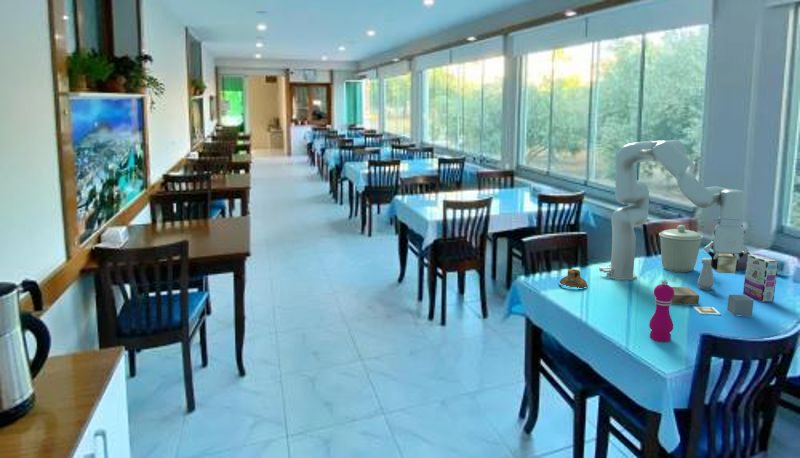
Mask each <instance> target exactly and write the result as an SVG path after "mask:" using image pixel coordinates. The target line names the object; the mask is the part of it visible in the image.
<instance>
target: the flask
mask: <svg viewBox="0 0 800 458" xmlns="http://www.w3.org/2000/svg"><path fill="white" fill-rule="evenodd" d="M741 227H743V225H742V224H741ZM743 228H744V227H743ZM745 233H746V231H745V230H744V234H745ZM744 246H745V244H744ZM745 247H746V246H745ZM720 254H731V255H733V254H732V253H720ZM748 255H752V253H750V252H749V251H748V252H747V253H745V254H744V255H743V256H742V257H741V258H740V259H739V260H738V264H737V267H736V270H735V271H745V270H746V265H747V256H748Z"/></svg>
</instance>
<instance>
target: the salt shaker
mask: <svg viewBox="0 0 800 458" xmlns="http://www.w3.org/2000/svg"><path fill="white" fill-rule="evenodd" d="M711 260H712V257H703V258H702V259H701V263H702V267H701V271H700V274H699V277H698V280H697V285H698V287H699V289H700V290H703V291H710V290H711V289H712V288H713V286H714V285H715V284H714V277H713V276H714V275H713V274H714V273H713V269H712V266H711Z"/></svg>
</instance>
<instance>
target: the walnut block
mask: <svg viewBox="0 0 800 458" xmlns="http://www.w3.org/2000/svg"><path fill="white" fill-rule="evenodd" d="M671 287H672V288H673V290H674V296H673V298H671V300H672V302H671V303H672V304H671V305H695V306H696V305H699V304H700V303H699V301H700V294H698V293H697V292H696V291H694V290H693V289H692V288H690V287H689V286H686V287H685V286H671Z"/></svg>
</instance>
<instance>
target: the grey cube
mask: <svg viewBox="0 0 800 458" xmlns="http://www.w3.org/2000/svg"><path fill="white" fill-rule="evenodd" d="M727 297H728V298H727V299H728V300H727V306H726V307H727V308H726V309H727V311H728V312H729V313H731V315H733V316H736V315H741V316H740V317H753V310H754V309H753V308H754V302H755V301H754V300H755V299H753V298H752V297H749V296H747V295H745V294H728V296H727Z"/></svg>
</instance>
